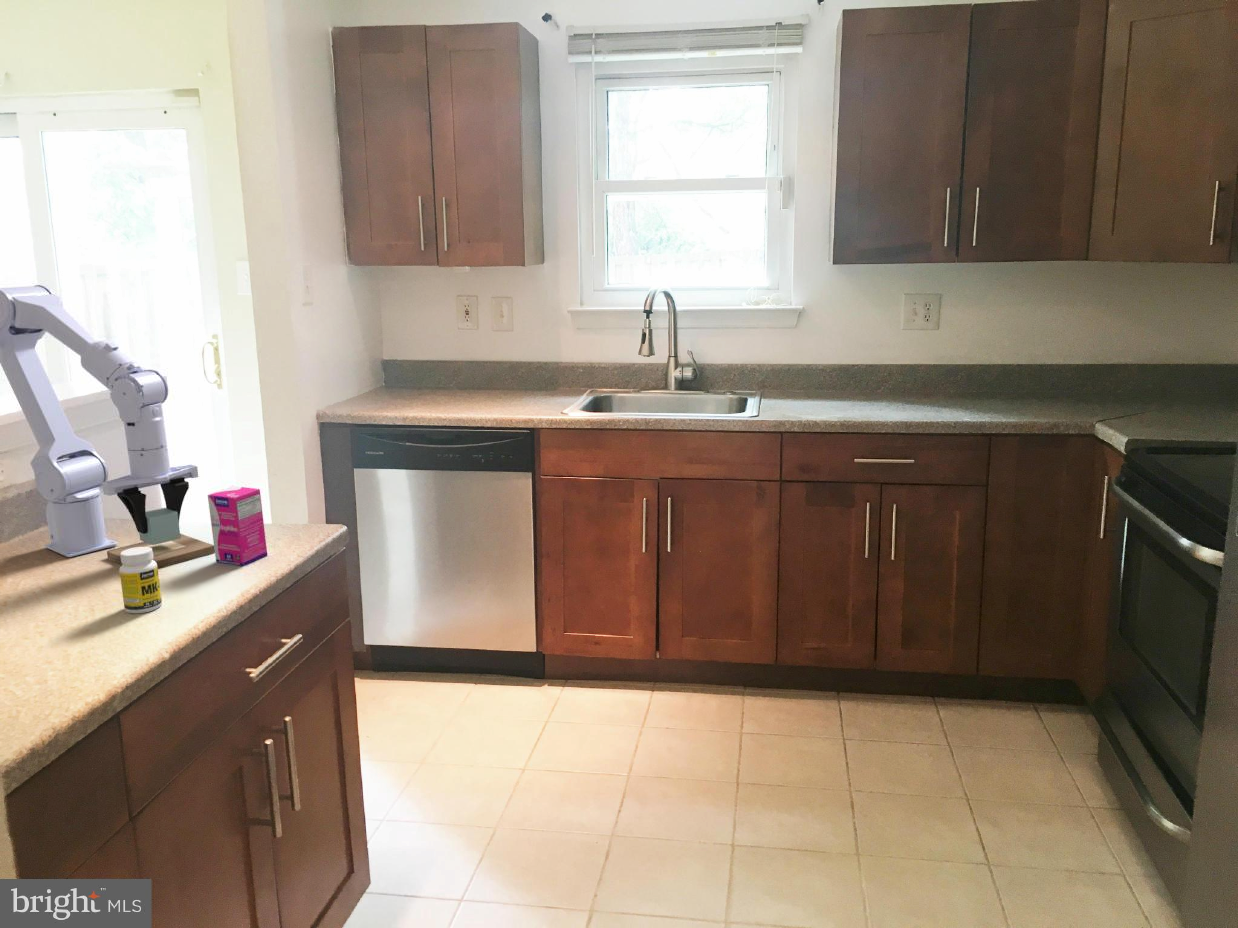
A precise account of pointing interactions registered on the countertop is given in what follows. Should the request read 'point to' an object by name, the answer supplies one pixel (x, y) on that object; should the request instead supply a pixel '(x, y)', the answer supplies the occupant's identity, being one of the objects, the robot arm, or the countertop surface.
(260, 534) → the supplement box
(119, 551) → the plate
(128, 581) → the supplement bottle
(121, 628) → the countertop surface
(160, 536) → the teal cube
